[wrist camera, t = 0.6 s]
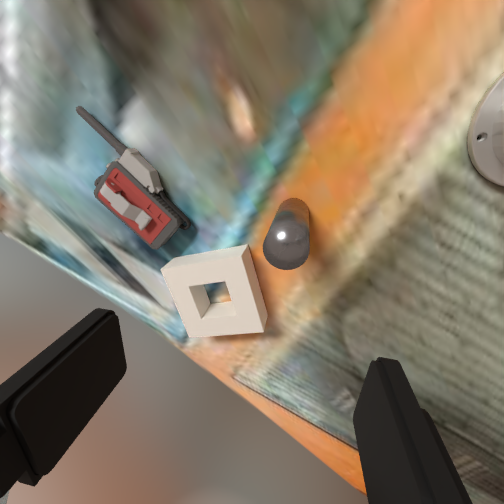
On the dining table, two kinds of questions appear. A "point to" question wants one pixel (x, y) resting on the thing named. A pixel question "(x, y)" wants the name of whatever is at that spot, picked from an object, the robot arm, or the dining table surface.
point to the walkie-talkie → (136, 192)
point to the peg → (288, 236)
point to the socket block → (196, 299)
